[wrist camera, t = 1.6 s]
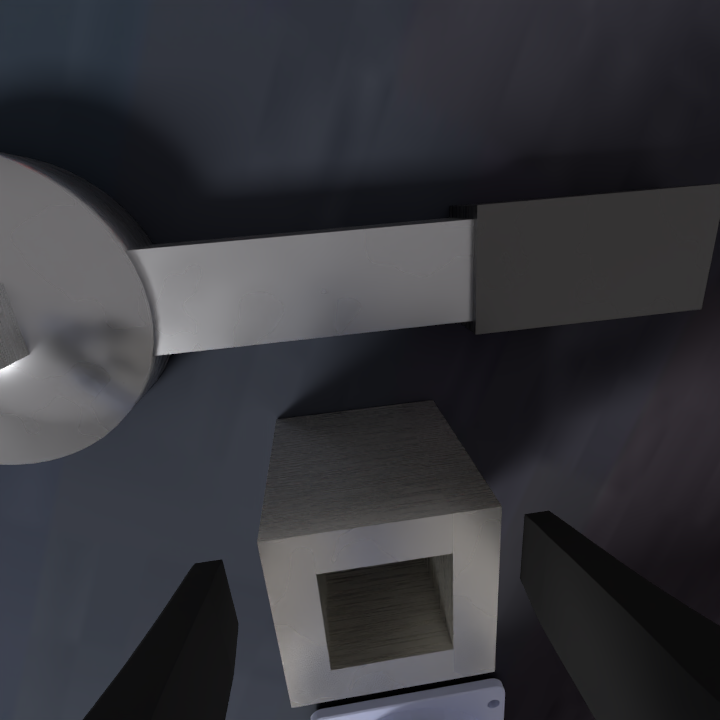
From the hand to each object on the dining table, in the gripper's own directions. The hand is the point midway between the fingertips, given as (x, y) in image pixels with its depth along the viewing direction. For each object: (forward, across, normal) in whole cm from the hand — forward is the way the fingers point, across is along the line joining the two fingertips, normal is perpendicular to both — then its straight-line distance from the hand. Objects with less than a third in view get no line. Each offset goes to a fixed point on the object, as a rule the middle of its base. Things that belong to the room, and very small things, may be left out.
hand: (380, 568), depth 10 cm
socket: (+4, 0, 0) cm, 4 cm away
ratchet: (+4, +1, -6) cm, 8 cm away
